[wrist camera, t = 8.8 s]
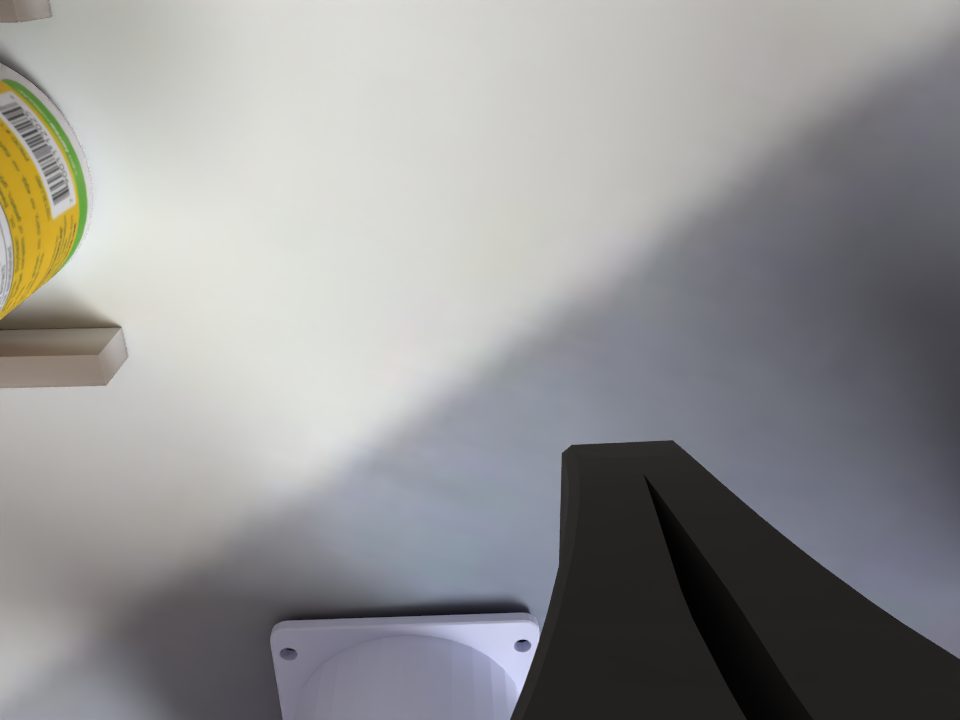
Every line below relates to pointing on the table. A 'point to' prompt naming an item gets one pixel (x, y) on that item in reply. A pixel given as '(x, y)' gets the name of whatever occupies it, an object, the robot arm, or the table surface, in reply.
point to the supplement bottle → (37, 190)
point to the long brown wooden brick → (55, 350)
